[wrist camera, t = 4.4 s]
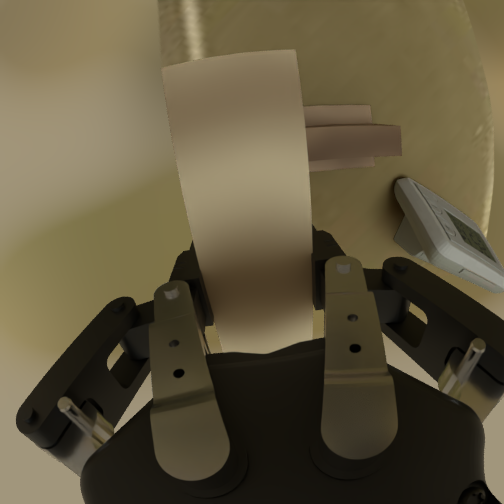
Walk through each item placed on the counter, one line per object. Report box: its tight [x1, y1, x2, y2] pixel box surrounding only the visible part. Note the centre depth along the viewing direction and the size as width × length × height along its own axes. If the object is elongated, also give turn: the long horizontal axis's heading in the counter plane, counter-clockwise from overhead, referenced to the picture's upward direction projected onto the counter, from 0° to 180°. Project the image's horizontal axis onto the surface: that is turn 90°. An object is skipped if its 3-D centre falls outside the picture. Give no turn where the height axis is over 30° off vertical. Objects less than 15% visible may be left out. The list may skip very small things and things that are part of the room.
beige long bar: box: [161, 50, 313, 354], centre depth 12 cm, size 16×4×4 cm, turn 7°
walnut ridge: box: [303, 105, 402, 172], centre depth 20 cm, size 6×9×6 cm, turn 98°
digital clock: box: [394, 178, 504, 293], centre depth 22 cm, size 16×9×11 cm, turn 60°
